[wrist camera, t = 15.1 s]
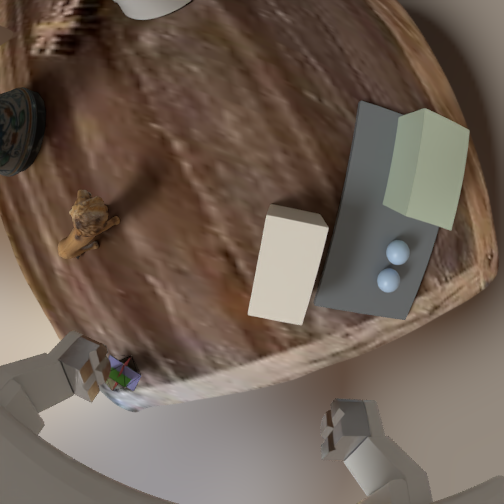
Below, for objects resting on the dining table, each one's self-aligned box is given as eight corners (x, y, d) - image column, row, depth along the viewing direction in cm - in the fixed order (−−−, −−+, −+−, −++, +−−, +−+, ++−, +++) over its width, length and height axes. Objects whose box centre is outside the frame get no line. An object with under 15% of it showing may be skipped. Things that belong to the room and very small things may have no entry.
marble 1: (384, 237, 31) (396, 238, 28) (403, 242, 31) (416, 243, 28) (380, 261, 31) (391, 264, 28) (399, 265, 31) (411, 268, 28)
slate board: (358, 102, 27) (360, 100, 26) (452, 138, 26) (456, 138, 25) (313, 301, 36) (314, 305, 35) (402, 316, 35) (405, 319, 34)
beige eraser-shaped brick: (270, 203, 32) (266, 214, 26) (320, 214, 32) (328, 227, 25) (254, 286, 36) (247, 314, 29) (299, 295, 35) (301, 325, 29)
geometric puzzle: (113, 342, 40) (91, 379, 36) (146, 364, 41) (125, 402, 36) (119, 347, 46) (100, 380, 42) (148, 366, 47) (130, 400, 42)
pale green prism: (398, 117, 26) (424, 108, 19) (438, 133, 25) (469, 130, 19) (382, 204, 29) (405, 216, 23) (422, 216, 29) (450, 230, 22)
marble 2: (378, 262, 31) (387, 273, 29) (397, 265, 32) (407, 277, 29) (370, 283, 33) (378, 295, 30) (390, 286, 33) (398, 298, 30)
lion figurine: (112, 178, 34) (69, 186, 25) (135, 203, 34) (95, 218, 26) (71, 246, 38) (34, 265, 29) (90, 269, 39) (55, 293, 30)
